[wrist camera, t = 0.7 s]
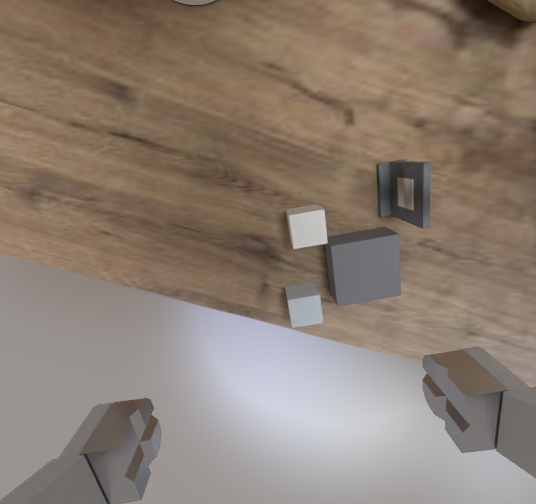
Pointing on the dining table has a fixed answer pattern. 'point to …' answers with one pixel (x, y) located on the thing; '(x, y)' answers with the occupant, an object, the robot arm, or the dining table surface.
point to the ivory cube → (307, 226)
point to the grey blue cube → (304, 304)
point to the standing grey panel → (405, 191)
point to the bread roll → (518, 8)
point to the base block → (363, 266)
